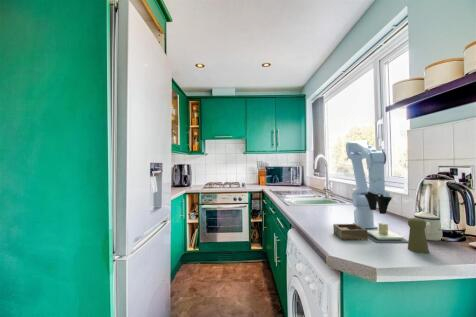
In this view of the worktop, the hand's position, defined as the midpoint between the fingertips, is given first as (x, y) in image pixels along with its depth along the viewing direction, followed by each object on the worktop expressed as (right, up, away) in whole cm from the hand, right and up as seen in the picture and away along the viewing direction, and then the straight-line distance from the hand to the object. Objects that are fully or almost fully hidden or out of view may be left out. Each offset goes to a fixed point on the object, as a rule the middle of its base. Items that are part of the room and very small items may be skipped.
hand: (377, 211), depth 99 cm
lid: (+1, -10, -2) cm, 10 cm away
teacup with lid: (+18, -10, -5) cm, 21 cm away
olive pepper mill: (+4, -10, -17) cm, 20 cm away
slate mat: (+1, -10, -3) cm, 11 cm away
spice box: (-12, -11, 0) cm, 16 cm away
